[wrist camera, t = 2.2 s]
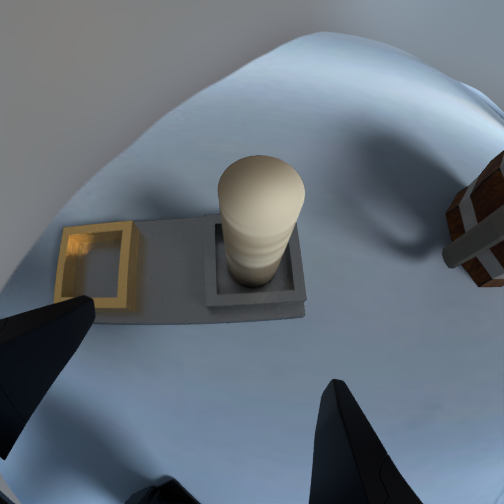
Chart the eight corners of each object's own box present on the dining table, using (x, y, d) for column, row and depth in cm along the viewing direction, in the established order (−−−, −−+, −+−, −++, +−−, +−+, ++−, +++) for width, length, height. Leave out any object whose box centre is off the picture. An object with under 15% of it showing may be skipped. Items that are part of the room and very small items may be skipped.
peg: (287, 268, 23) (322, 197, 13) (248, 298, 22) (254, 245, 12) (256, 232, 24) (267, 143, 14) (217, 259, 23) (200, 182, 13)
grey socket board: (290, 219, 26) (296, 201, 23) (302, 317, 23) (311, 311, 20) (78, 233, 25) (63, 218, 22) (69, 322, 22) (50, 316, 19)
